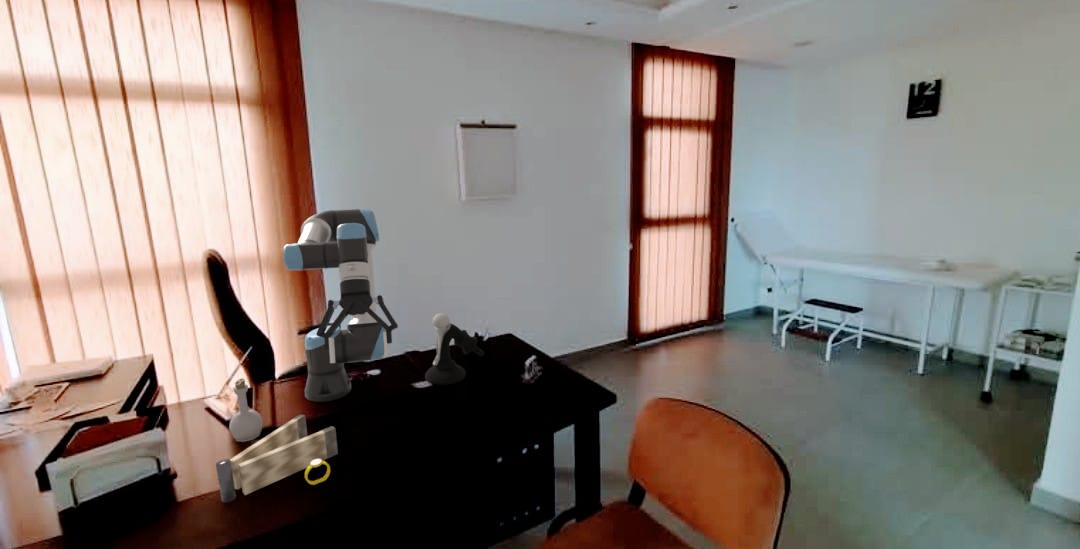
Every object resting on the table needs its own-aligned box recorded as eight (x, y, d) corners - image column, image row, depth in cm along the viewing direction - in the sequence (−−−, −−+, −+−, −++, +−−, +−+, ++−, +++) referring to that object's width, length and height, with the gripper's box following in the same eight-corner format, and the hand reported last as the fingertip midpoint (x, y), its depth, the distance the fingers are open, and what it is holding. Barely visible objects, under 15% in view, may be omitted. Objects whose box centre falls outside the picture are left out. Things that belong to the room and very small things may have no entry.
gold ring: (308, 489, 129) (304, 470, 128) (305, 484, 131) (301, 464, 130) (332, 478, 133) (328, 459, 131) (329, 473, 135) (325, 454, 133)
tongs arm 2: (245, 495, 126) (240, 466, 124) (242, 492, 127) (238, 463, 126) (337, 453, 144) (335, 428, 142) (334, 451, 145) (332, 426, 143)
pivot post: (226, 504, 124) (220, 467, 121) (219, 500, 125) (213, 464, 123) (238, 497, 126) (232, 461, 124) (231, 493, 128) (225, 457, 125)
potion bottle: (270, 430, 156) (263, 376, 152) (245, 446, 148) (237, 389, 143) (249, 425, 159) (241, 372, 154) (223, 440, 150) (214, 384, 146)
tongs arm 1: (238, 489, 128) (233, 461, 126) (232, 488, 129) (228, 460, 127) (307, 439, 150) (305, 415, 149) (302, 438, 151) (300, 414, 149)
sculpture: (419, 372, 197) (416, 310, 191) (476, 360, 208) (475, 301, 202) (432, 388, 184) (429, 322, 178) (492, 374, 195) (491, 312, 189)
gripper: (301, 282, 131) (305, 365, 128) (401, 273, 136) (407, 353, 133) (309, 287, 139) (313, 365, 135) (403, 278, 143) (409, 354, 140)
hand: (360, 359), depth 134 cm, fingers open, 13 cm apart
